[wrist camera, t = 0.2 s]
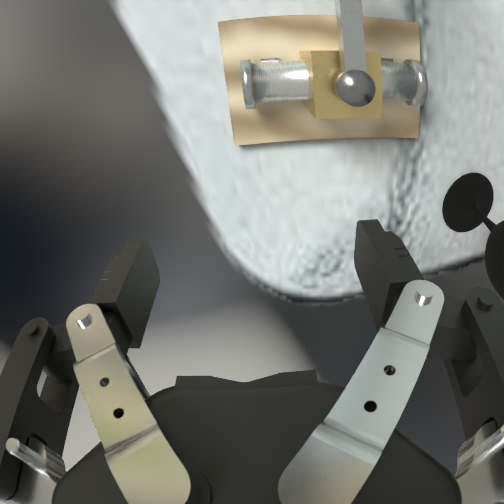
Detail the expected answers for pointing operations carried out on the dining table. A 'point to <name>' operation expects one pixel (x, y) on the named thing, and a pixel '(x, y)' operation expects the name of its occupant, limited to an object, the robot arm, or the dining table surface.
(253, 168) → the dining table surface
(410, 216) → the dining table surface
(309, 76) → the valve
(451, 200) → the wine glass
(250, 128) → the mounting board
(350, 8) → the lever
